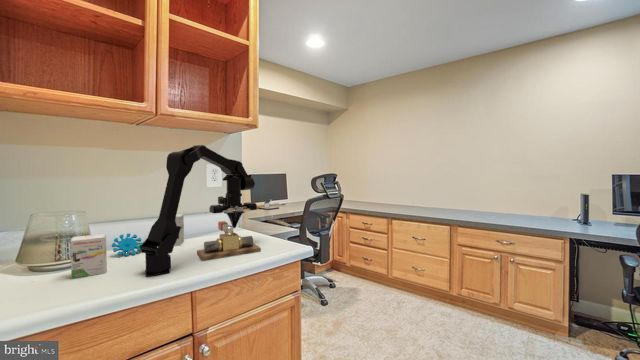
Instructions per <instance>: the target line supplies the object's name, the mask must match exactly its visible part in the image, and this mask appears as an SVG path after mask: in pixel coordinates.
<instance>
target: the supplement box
mask: <svg viewBox="0 0 640 360" xmlns="http://www.w3.org/2000/svg"><path fill="white" fill-rule="evenodd" d="M184 217H185V216H184V213H183V214H181V213H180V214H179V213H177V214H176V219H175V221H176V225H177V226H180V227H181V229H180V232H179V239H177V241H176V243H175V244H174V247H175V246H177V247H179V246H181V245H182V243H184V242H185V230H184V229H185V228H184V227H185V221H184V219H185V218H184Z"/></svg>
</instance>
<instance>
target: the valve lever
mask: <svg viewBox="0 0 640 360" xmlns="http://www.w3.org/2000/svg"><path fill="white" fill-rule="evenodd" d="M217 226H218V227H217V228H218V230H219V231H221V232H223V233H224V234H225V235H231V234H233V233H234V228H233V226H232V225H230V224H228V222H227V221H225V220H222V221H218V223H217Z"/></svg>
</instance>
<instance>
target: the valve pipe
mask: <svg viewBox="0 0 640 360" xmlns="http://www.w3.org/2000/svg"><path fill="white" fill-rule="evenodd" d="M253 243H254V238H253V236H252V235H247V236H241V235H239V234H238V233H236V232H233V234H231V235H225V233H220V234H219V238H217V239H216V240H209V241H204V242H203V249H204V251H205V253H207V252H214V251H218V252H220V251H223V252H226V251H233V250H239V249H240V248H242V247H247V246H253Z"/></svg>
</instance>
